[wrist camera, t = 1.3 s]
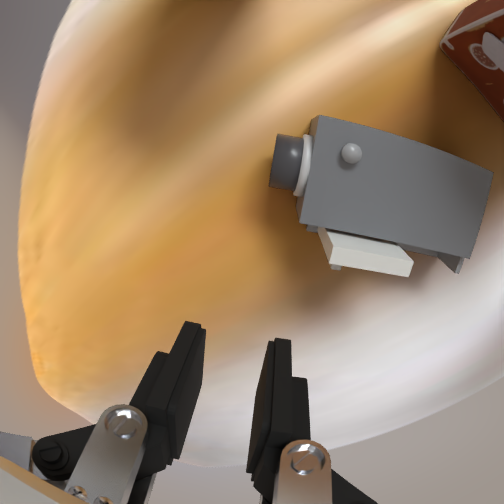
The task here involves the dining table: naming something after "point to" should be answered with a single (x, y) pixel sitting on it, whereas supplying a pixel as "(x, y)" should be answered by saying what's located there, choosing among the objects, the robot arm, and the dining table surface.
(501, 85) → the dark red boxy piece
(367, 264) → the off-white foam block
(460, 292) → the dining table surface
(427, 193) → the housing
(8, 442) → the robot arm
